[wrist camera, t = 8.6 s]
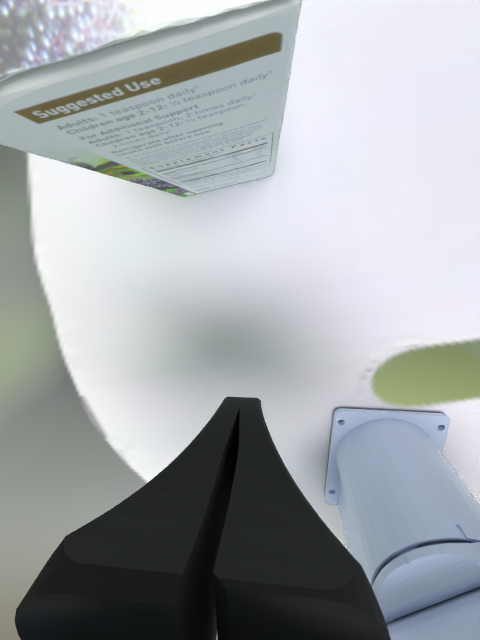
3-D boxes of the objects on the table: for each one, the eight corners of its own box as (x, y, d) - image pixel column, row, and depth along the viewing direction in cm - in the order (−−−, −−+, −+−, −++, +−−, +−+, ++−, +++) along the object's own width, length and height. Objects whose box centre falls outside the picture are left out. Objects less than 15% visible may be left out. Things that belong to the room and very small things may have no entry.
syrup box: (156, 88, 16) (-579, -760, 2) (262, 56, 15) (178, -1857, 1) (183, 198, 17) (-116, 128, 4) (279, 175, 17) (323, -21, 3)
